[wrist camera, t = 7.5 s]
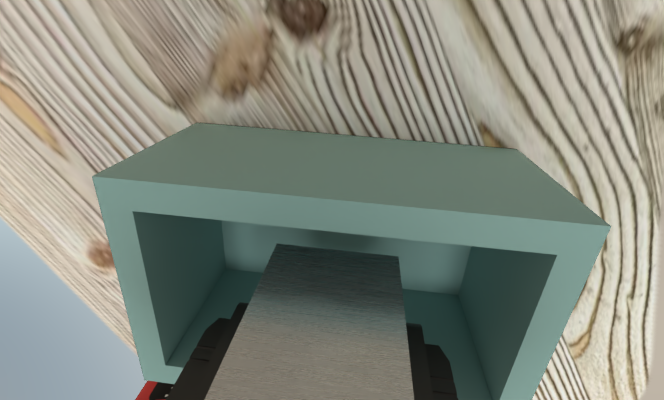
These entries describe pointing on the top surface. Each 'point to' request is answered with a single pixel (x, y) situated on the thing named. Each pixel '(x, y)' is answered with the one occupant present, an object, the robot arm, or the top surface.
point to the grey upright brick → (320, 331)
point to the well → (352, 240)
